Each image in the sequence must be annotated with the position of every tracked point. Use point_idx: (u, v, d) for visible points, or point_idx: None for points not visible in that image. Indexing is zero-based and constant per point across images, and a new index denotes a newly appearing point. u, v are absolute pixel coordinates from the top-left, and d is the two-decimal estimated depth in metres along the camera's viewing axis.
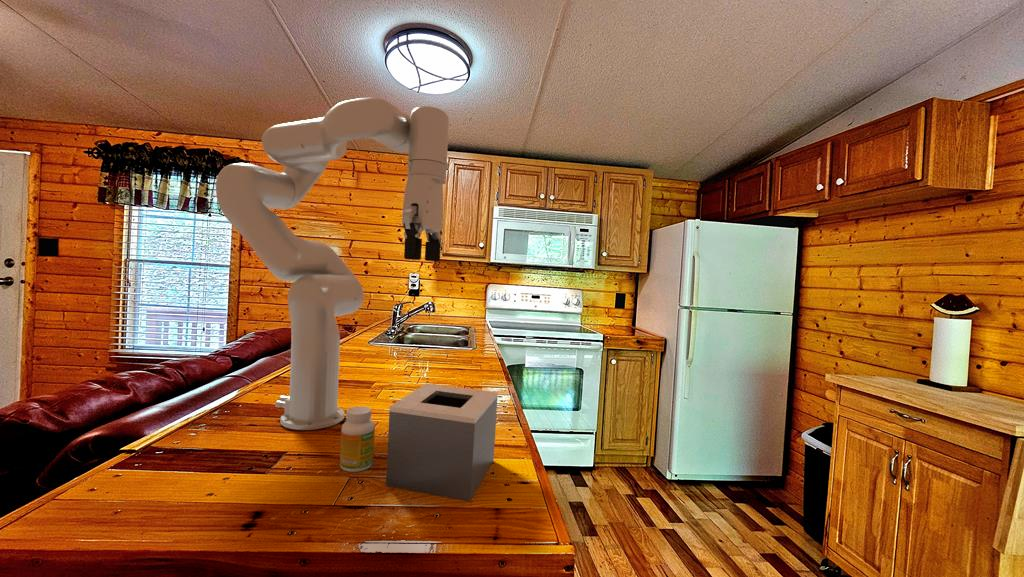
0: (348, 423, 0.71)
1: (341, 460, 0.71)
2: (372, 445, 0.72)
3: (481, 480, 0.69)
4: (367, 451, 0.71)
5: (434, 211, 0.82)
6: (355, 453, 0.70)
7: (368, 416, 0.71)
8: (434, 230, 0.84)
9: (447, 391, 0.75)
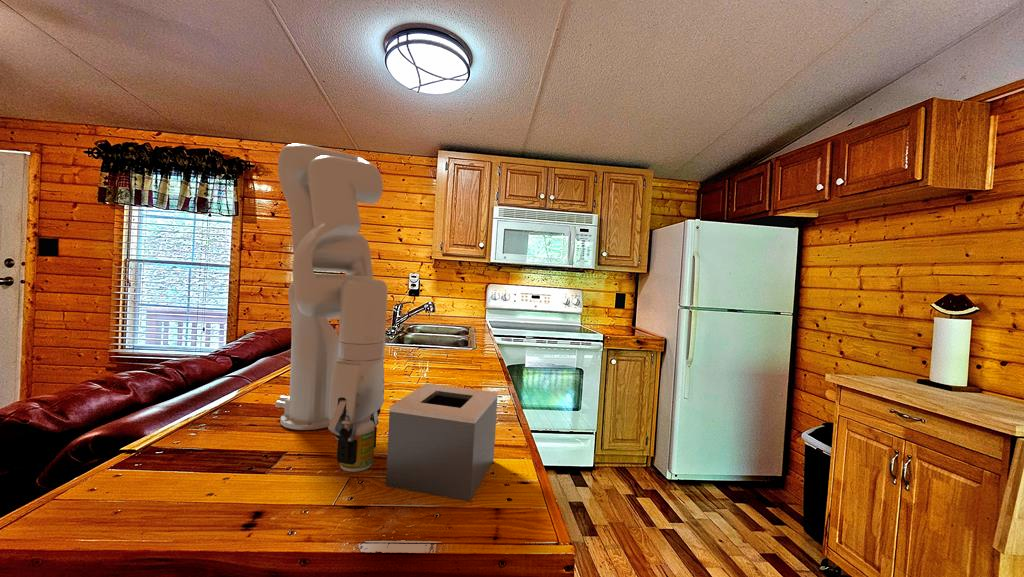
0: None
1: None
2: (372, 445, 0.72)
3: (481, 480, 0.69)
4: (368, 451, 0.71)
5: (368, 397, 0.70)
6: None
7: (368, 416, 0.71)
8: (371, 414, 0.72)
9: (447, 391, 0.75)
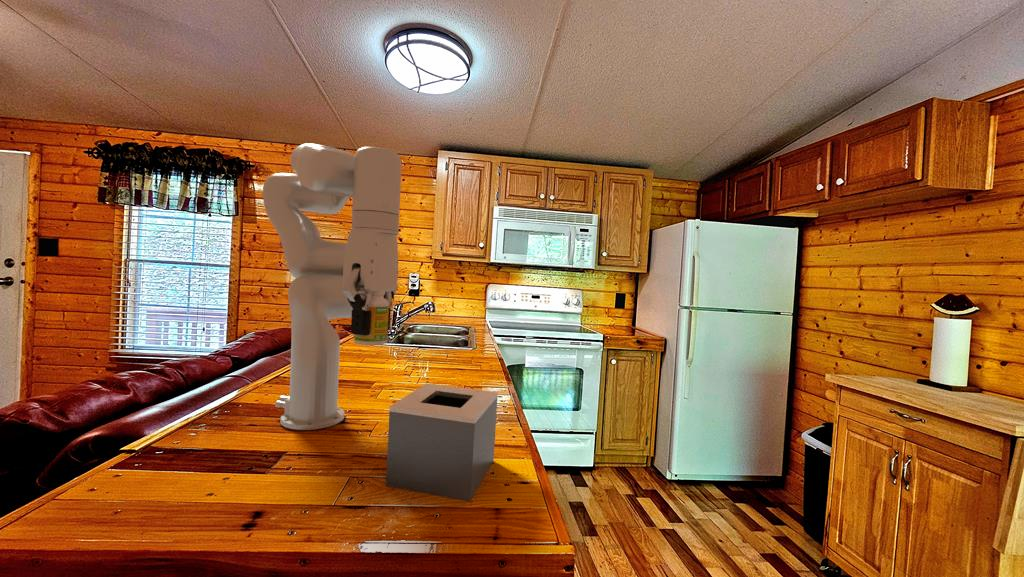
0: (362, 296, 0.70)
1: (355, 334, 0.69)
2: (386, 321, 0.71)
3: (481, 480, 0.69)
4: (382, 326, 0.70)
5: (383, 270, 0.69)
6: None
7: (382, 291, 0.70)
8: (385, 290, 0.71)
9: (447, 391, 0.75)
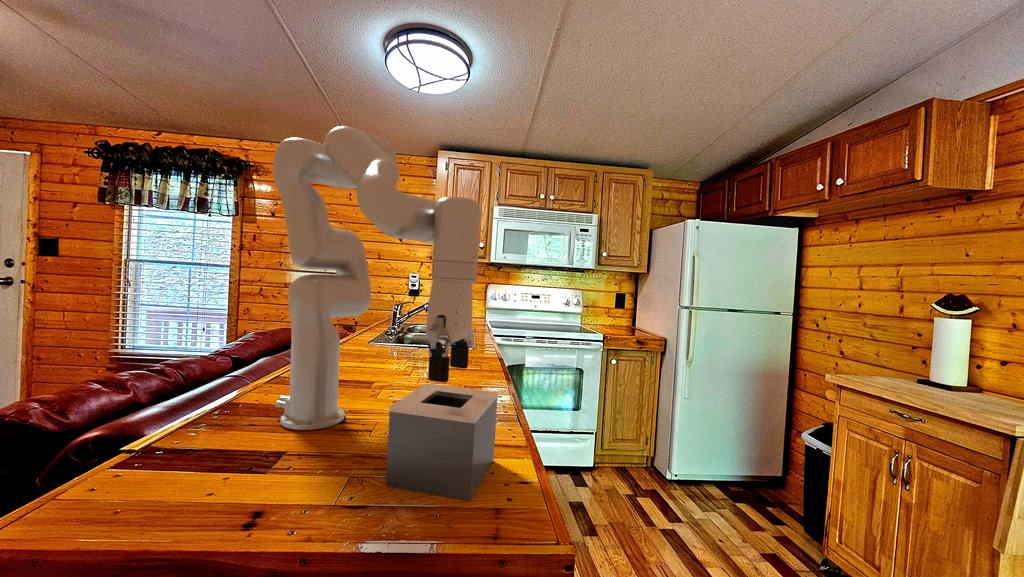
0: None
1: None
2: None
3: (481, 480, 0.69)
4: None
5: (463, 319, 0.69)
6: None
7: None
8: (462, 338, 0.71)
9: (447, 391, 0.75)
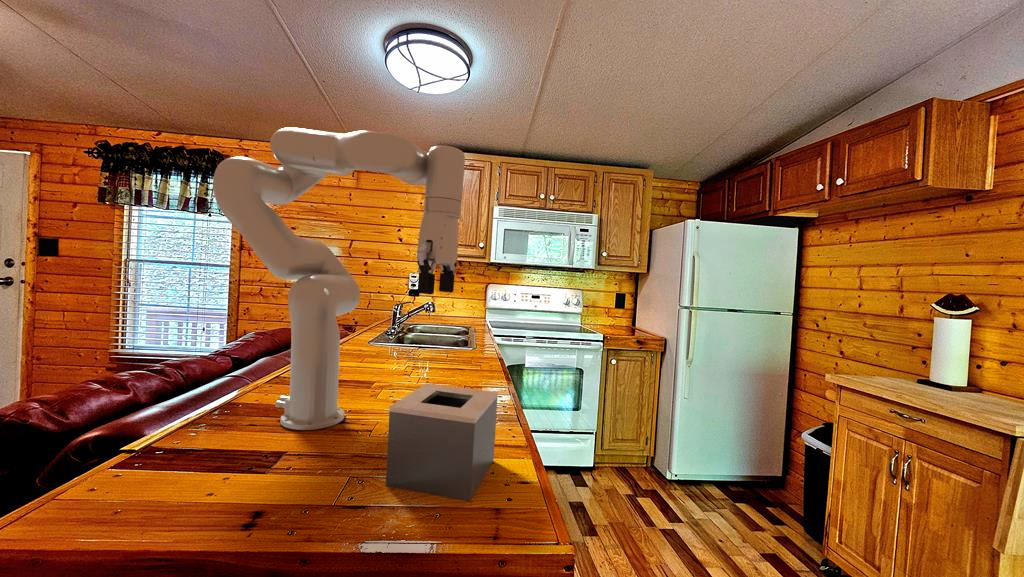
0: None
1: None
2: None
3: (481, 480, 0.69)
4: None
5: (448, 246, 0.85)
6: None
7: None
8: (448, 264, 0.87)
9: (447, 391, 0.75)
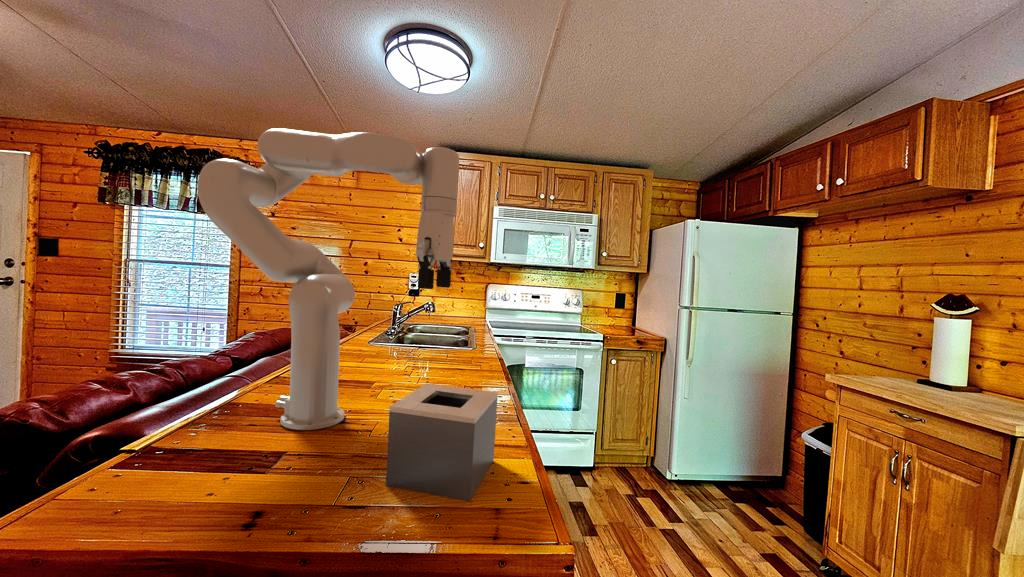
0: None
1: None
2: None
3: (481, 480, 0.69)
4: None
5: (445, 243, 0.89)
6: None
7: None
8: (445, 260, 0.91)
9: (447, 391, 0.75)
